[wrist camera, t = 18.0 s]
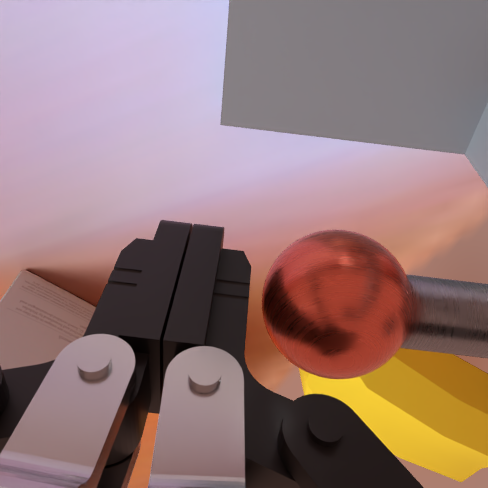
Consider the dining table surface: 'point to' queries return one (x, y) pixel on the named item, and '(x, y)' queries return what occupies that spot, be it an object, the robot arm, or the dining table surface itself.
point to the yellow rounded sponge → (420, 409)
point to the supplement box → (39, 321)
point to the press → (362, 72)
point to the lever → (364, 307)
